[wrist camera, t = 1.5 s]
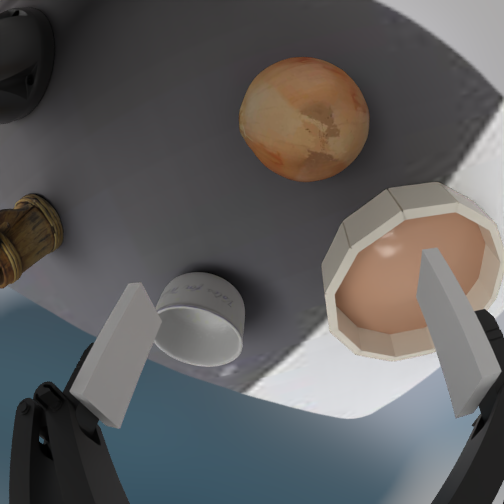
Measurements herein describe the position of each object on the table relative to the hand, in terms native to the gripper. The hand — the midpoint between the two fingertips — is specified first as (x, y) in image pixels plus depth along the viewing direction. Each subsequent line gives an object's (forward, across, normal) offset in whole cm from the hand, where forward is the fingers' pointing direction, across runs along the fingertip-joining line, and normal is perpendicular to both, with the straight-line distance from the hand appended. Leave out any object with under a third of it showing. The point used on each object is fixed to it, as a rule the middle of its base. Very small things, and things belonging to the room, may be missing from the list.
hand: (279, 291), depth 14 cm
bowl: (+18, +13, -15) cm, 27 cm away
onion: (+18, +2, +5) cm, 19 cm away
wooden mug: (+18, -32, +2) cm, 37 cm away
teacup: (+18, -14, -15) cm, 27 cm away
